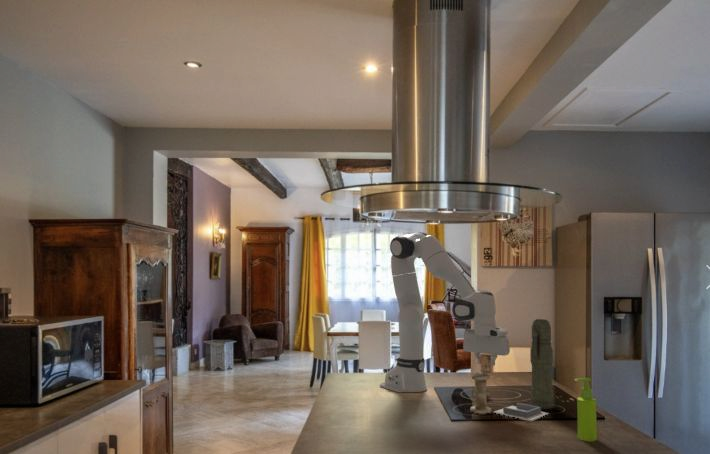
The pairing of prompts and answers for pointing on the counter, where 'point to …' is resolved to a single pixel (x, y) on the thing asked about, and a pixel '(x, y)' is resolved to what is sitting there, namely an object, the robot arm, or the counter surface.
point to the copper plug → (485, 363)
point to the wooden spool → (480, 394)
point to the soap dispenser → (586, 413)
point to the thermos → (541, 365)
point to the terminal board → (522, 412)
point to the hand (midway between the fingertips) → (486, 364)
